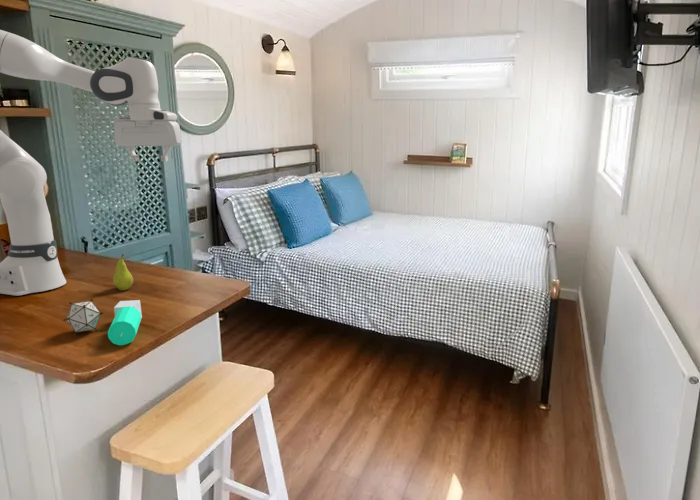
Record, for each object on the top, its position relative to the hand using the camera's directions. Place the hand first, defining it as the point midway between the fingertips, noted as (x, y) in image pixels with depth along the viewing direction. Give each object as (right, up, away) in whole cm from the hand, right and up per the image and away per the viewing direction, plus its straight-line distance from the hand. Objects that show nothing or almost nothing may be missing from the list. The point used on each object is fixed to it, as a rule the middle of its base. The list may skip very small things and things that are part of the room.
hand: (150, 161), depth 151 cm
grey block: (+4, -46, -23) cm, 52 cm away
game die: (-1, -46, -34) cm, 57 cm away
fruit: (-9, -40, +2) cm, 41 cm away
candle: (+6, -44, -28) cm, 53 cm away
